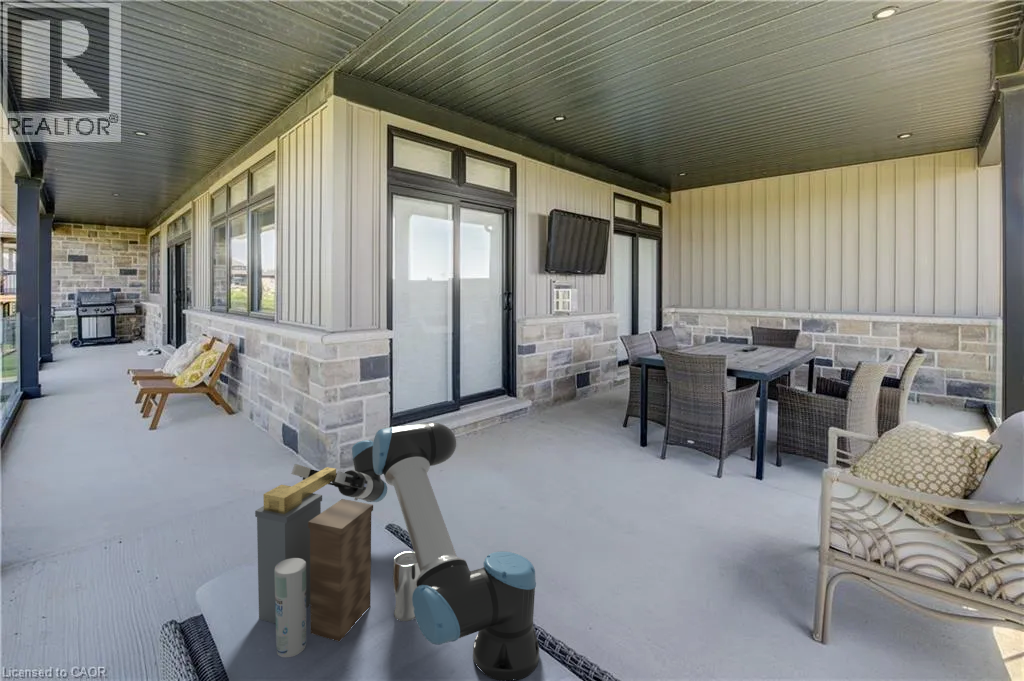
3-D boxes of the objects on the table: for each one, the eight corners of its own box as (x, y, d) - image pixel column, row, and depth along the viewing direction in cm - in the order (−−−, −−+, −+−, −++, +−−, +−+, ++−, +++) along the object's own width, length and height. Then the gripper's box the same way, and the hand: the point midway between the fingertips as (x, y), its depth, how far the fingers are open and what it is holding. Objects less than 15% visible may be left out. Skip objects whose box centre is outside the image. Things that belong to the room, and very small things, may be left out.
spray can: (310, 649, 114) (310, 567, 111) (280, 662, 109) (279, 577, 107) (301, 633, 119) (301, 554, 116) (272, 645, 114) (270, 563, 112)
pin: (284, 514, 118) (284, 498, 118) (263, 509, 120) (263, 494, 120) (340, 479, 139) (340, 466, 139) (322, 476, 141) (322, 462, 141)
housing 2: (341, 600, 131) (342, 498, 128) (372, 607, 129) (373, 504, 125) (308, 633, 119) (308, 521, 115) (341, 642, 116) (341, 528, 113)
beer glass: (413, 625, 123) (414, 568, 121) (387, 620, 124) (388, 564, 123) (424, 607, 130) (425, 553, 128) (399, 602, 131) (400, 549, 129)
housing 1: (294, 588, 135) (293, 489, 132) (322, 595, 133) (322, 495, 129) (257, 618, 123) (255, 510, 119) (287, 627, 120) (286, 517, 117)
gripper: (388, 504, 147) (351, 494, 128) (316, 490, 154) (271, 479, 135) (395, 478, 150) (360, 465, 131) (324, 466, 157) (281, 452, 138)
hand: (315, 472), depth 133 cm, fingers open, 13 cm apart
